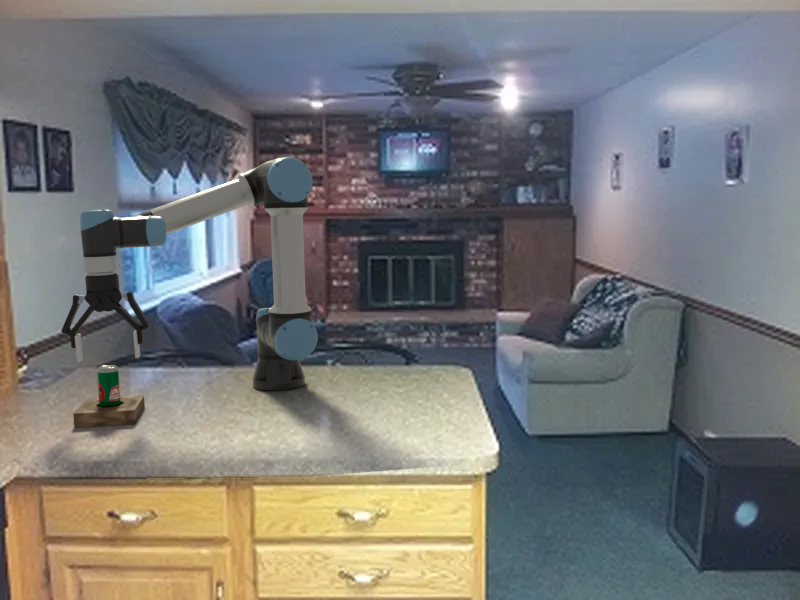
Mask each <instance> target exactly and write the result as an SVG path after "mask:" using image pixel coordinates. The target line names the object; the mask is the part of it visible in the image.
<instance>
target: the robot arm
mask: <svg viewBox="0 0 800 600" xmlns="http://www.w3.org/2000/svg"><path fill="white" fill-rule="evenodd" d="M313 183H314V181H313V175H312V172H311V171H310V168H309V167H308V166H307V165H306V163H304V162H303V161H302V160H301V159H298V158H294V157H289V156H284V157H278V158H276V159H271V160H268V161H266V162H263V163H262V164H259V165H258V166H257V167H254V168H252V169H250V170H248V171H246V172H242V173H240V174H238V176H237V179H234V180H231V181H228V182H226V183H223V184H219V185H217V186H214V187H211V188H209V189H208V188H207V189H206V190H203V191H199V192H197V193H194V194H191V195H189V196H186V197H185V196H184V197H183V198H180V199H177V200H175V201H172V202H169V203H166V204H164V205H163V204H162V205H160V206H158V207H155V208H151V209H149V210H147V211H143V212H140V213H137V214H133V215H130V216H126V217H118V216H115V215H114V212H113V210H112V209H92V210H91V209H90V210H83V211H82V212H81V213H80V215H79V219H80V223H79V224H80V236H81V237H80V238H81V246H82V256H83V258H82V259H83V268H84V273H85V274H87V275H85V277H84V278H85V279H84V280H85V289H86V293H85V294H79V293H76V294H74V295H72V305H71V307H70V309H69V312H68V314H67V316H66V318H65V322H64V324H63V326H62V328H61V330H60V331H61V333H62V334H67V335H69V337H70V345H71V348H72V349H75V352H76V354H75V355H76V362H77V363H80V362H82V361H83V360H84V356H83V355H84V354H83V346H82V345H83V344H82V333H79V331H80V329H81V328H82V326H83V325H84V324H85V323H86V322H87V320H88V319H89V318H90V316H91V315H92V314H93V313H94V311H95V312H97V313H102V312H109V313H110V312H112V311H115V312H116V313H117V314H119V315H120V316H121V317H122V318H123V319H124V320H125V321H126V322H127V323H128V324H129V325H130V326H131V327H132V328H133V329H134V331H133V333H132V334H133V345H134V346H133V347H134V357H135V359H139V358H140V357H141V348H140V347H141V346H140V345H141V344H143V343H144V333H143V332H144V330H146V329H148V328H150V325H151V323H150V321H149V320H148V318H147V316H146V315H145V314H144V312H143V310H142V309H141V307H140V306H139V304H138V302H137V300H136V298H135V294H134V291H132V290H131V291H128V292H123V293H122V292H121V290H120V280H119V279H120V278H119V275H118V273H117V272H118V269H119V267H118V259H117V249H123V248H144V247H145V248H147V247H150V248H154V247H160V246H164V245H165V244H166V242H167V235H169V234H171V233H174V232H177V231H180V230H182V229H185V228H188V227H191V226H193V225H196V224H200V223H202V222H205V221H207V220H210V219H213V218H215V217H218V216H221V215H224V214H227V213H229V212H232V211H235V210H237V209H241V208H244V207H245V206H248V207H251V208H253V207H257V206H260V205H264V211H265V212H266V213H268V215H269V216H270V234H271V235H270V237H271V239H270V240H271V260H272V261H271V262H272V263H271V264H272V282H273V283H272V285H273V286H272V287H273V289H272V290H273V305H272V306H271V307H264V308H259V309H257V311H256V317H255V322H256V339H257V341H256V342H257V343H256V344H257V361H256V366H255V370H254V373H253V376H252V387H253V388H254V389H257V390H260V391H261V390H262V391H270V392H271V391H287V390H292V389H298V388H301V387H303V386H304V385H306V378H305V377H306V376H305V373H304V370H303V367H302V365H301V362H300V360H304V359H305V358H308V357H309V356H310V354H311V355H312V353H313V351H314V350H315V348H316V346H317V343H318V340H319V339H318V338H319V337H318V332H317V329H316V327H315V325H314V323H313V315H312V308H311V306H309V304H308V303H307V301H306V299H307V298H306V296H307V295H306V272H305V271H306V270H305V269H306V268H305V267H306V266H305V244H304V243H305V241H304V214H305V213H306V211H307V210H308V209H309V194H310V193H311V191H312V189H313ZM122 299H124V300H125V301H126V302H128V304H129V306H130V308H131V309H132V311H133V312H134V314H135V315H136V318H137V319H138V321H137V319H135V317H133V316H132V314H130V313H129V312H128V311H127V310H126V309H125V308H124V306H123V305H122V304H121V303H120V302H121V300H122ZM84 301H85V302H86V303H87V304H88V305H89V306H88V308H87V309H86V310H85V312H84V313H83V314H82V315H81V317H80V318H79V320H78V321H77V322H76V324H74V326H73V327H72V324H73V322H74V319H75V317H76V315H77V313H78V310H79V308H80V306H81V304H83V302H84ZM139 322H140V323H139ZM71 327H72V328H71Z"/></svg>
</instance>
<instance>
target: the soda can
mask: <svg viewBox="0 0 800 600" xmlns="http://www.w3.org/2000/svg"><path fill="white" fill-rule="evenodd" d="M96 377H97V378H96V380H97V392H98V398H99V407H100V408H110V407H116V406H120V405H121V397H122V396H121V385H120V384H121V383H120V370H119V369H118V366H117V365H115V364H107V365H101V366H99V367H98V370H97V371H96Z"/></svg>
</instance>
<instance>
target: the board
mask: <svg viewBox="0 0 800 600" xmlns="http://www.w3.org/2000/svg"><path fill="white" fill-rule="evenodd" d="M145 406H146V405H145V395H129V396H127V395H126V396H121V405H120V406H116V407H110V408H100V407H99V397H93V398H92V397H91V398H90V397H89V398H86V399H85V400H84V401H83V402H82V403H81V404H80V406H78V408H77V409H76V410H75V411H74V412H73V413H72V415H73V416H72V417H73V428H74V429H76V428H77V429H78V428H93V427H109V426H125V425H126V426H127V425H128V426H129V425H136V424H137V423H138V421H139V420H140V418H141V416H142V413H143V412H144V411H145Z"/></svg>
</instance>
